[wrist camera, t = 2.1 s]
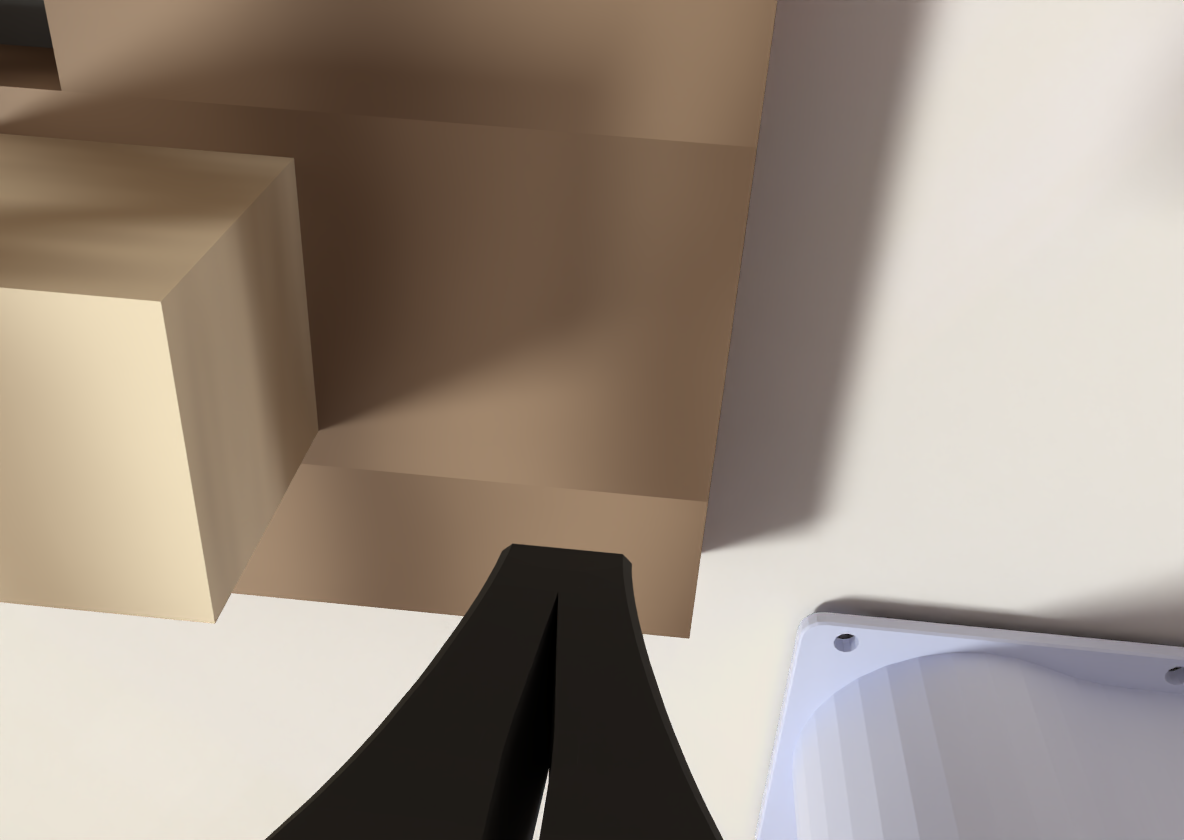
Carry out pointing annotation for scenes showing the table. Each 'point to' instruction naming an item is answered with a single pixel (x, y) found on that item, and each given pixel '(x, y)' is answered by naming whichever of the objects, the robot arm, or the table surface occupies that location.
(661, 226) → the trap board
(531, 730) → the robot arm
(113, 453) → the maple block
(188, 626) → the table surface
